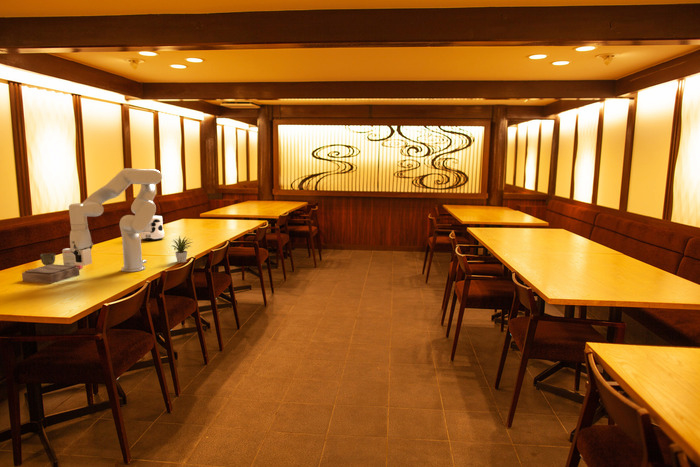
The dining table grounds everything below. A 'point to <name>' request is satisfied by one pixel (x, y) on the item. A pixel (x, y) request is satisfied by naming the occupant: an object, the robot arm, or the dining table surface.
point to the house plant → (181, 250)
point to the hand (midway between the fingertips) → (83, 260)
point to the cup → (48, 258)
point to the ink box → (69, 258)
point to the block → (84, 257)
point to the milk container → (154, 229)
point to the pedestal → (50, 273)
